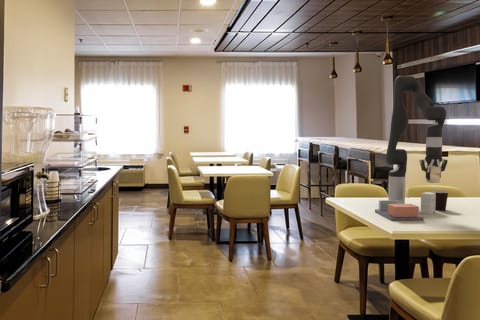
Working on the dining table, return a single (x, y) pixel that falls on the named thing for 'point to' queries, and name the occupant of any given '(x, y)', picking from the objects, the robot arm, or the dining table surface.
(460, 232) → the dining table surface
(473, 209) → the dining table surface
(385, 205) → the vise
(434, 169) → the maple block
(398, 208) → the sliding jaw
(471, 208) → the dining table surface
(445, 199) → the coffee mug
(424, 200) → the small box
